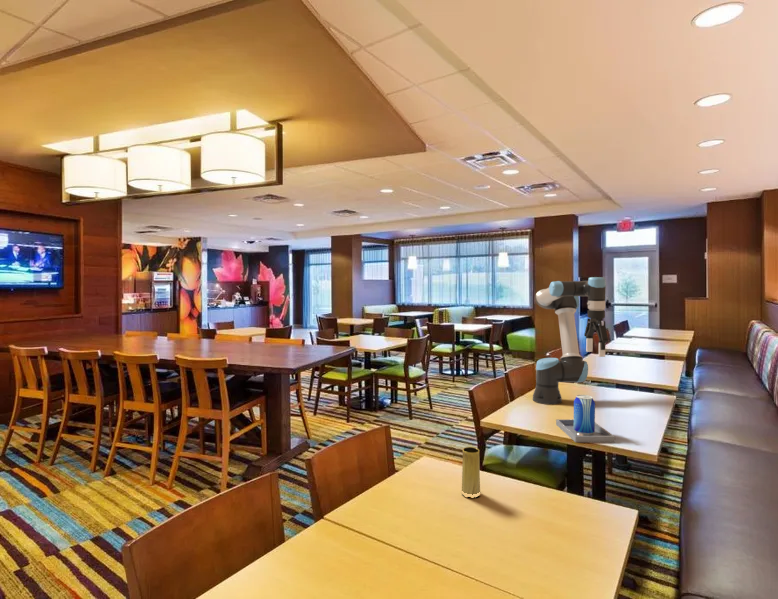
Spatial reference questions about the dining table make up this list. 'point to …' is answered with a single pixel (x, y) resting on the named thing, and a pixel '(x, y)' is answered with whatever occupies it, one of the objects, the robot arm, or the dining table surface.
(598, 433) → the tray
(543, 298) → the robot arm
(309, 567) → the dining table surface
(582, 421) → the beer can
